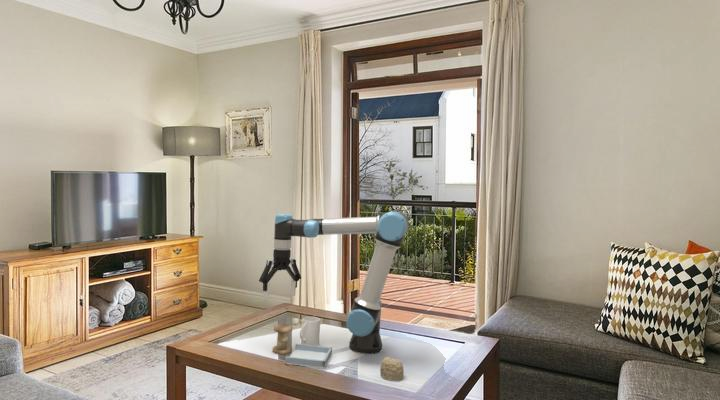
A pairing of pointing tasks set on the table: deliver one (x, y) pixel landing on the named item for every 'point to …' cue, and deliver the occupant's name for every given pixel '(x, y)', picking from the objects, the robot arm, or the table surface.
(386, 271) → the robot arm
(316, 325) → the mug
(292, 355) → the blue-grey square tray
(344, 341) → the table surface
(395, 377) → the sponge
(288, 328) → the bobbin
